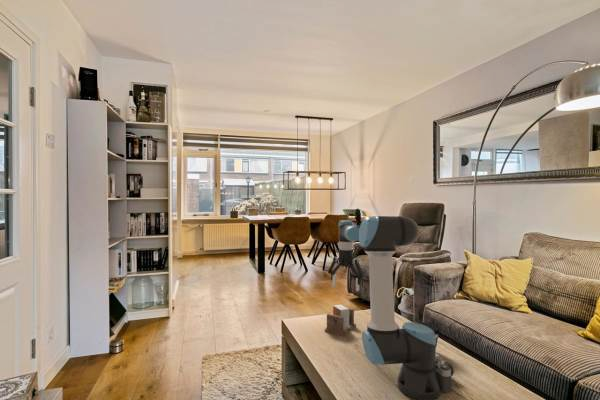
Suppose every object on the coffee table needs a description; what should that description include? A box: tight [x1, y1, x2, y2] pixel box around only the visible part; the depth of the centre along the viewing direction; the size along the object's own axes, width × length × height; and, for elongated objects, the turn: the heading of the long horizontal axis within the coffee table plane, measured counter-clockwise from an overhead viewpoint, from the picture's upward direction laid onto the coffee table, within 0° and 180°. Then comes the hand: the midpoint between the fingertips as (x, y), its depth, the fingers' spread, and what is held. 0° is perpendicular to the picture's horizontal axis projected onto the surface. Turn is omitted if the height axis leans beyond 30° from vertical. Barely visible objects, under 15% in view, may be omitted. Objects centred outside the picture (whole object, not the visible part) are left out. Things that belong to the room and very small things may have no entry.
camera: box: [435, 353, 455, 394], centre depth 125 cm, size 16×10×10 cm, turn 14°
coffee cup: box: [417, 322, 441, 347], centre depth 147 cm, size 11×11×12 cm
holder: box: [324, 307, 357, 337], centre depth 173 cm, size 18×11×9 cm, turn 147°
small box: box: [332, 304, 349, 329], centre depth 173 cm, size 8×6×10 cm
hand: (345, 288), depth 171 cm, fingers open, 13 cm apart
